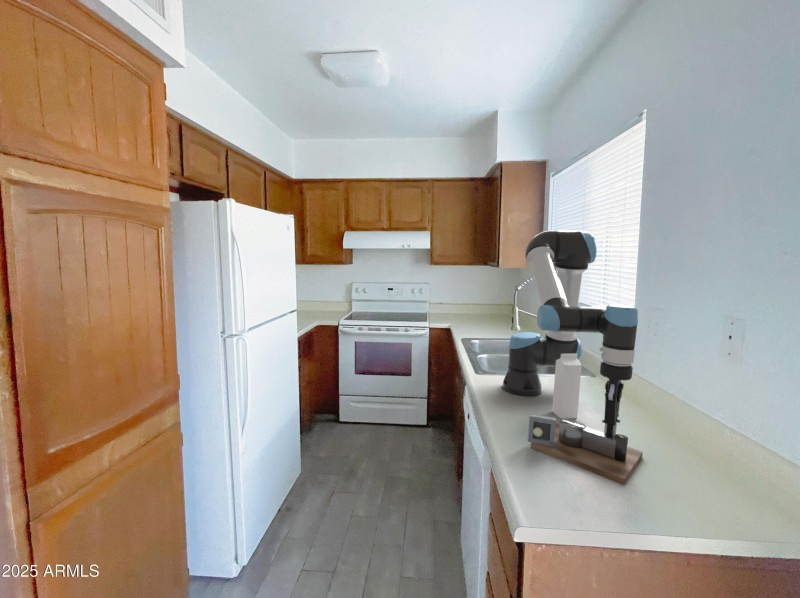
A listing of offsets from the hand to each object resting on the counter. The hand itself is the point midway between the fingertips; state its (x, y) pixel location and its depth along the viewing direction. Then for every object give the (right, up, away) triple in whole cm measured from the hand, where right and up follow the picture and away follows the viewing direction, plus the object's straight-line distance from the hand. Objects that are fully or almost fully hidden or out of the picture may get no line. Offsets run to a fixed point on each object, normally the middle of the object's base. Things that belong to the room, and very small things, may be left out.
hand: (608, 444), depth 105 cm
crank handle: (-4, -1, +2) cm, 5 cm away
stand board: (-5, -3, +3) cm, 7 cm away
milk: (-1, 0, +27) cm, 27 cm away
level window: (-17, -1, +4) cm, 18 cm away
